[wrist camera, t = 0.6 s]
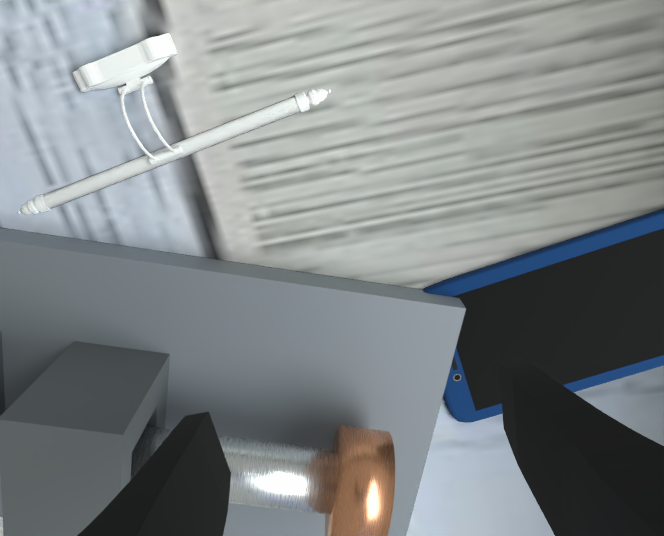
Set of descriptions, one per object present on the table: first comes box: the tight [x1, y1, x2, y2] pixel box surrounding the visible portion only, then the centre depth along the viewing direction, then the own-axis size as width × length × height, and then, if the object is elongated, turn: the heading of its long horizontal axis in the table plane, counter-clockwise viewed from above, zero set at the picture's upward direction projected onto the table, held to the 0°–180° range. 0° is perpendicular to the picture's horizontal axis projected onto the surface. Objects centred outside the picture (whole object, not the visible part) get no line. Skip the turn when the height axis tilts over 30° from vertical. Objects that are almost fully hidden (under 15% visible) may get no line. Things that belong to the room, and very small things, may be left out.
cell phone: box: [423, 209, 664, 422], centre depth 24 cm, size 7×14×1 cm, turn 109°
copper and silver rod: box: [131, 425, 395, 536], centre depth 21 cm, size 4×12×4 cm, turn 81°
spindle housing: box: [0, 228, 466, 536], centre depth 21 cm, size 14×24×7 cm, turn 81°
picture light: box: [17, 33, 331, 215], centre depth 20 cm, size 14×4×2 cm, turn 110°
